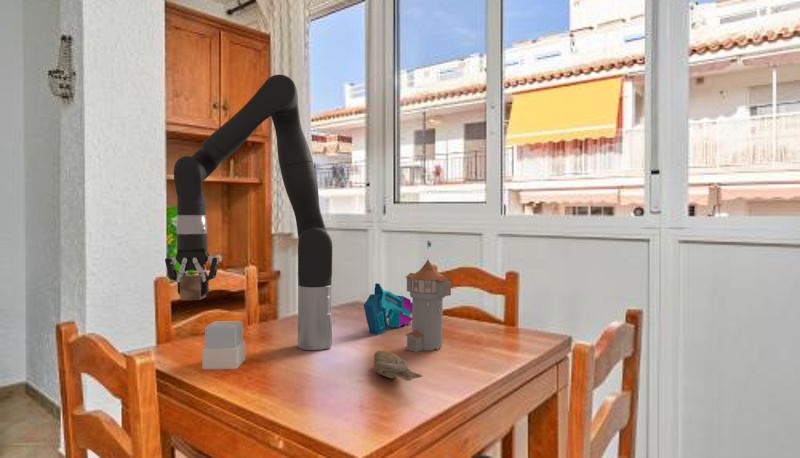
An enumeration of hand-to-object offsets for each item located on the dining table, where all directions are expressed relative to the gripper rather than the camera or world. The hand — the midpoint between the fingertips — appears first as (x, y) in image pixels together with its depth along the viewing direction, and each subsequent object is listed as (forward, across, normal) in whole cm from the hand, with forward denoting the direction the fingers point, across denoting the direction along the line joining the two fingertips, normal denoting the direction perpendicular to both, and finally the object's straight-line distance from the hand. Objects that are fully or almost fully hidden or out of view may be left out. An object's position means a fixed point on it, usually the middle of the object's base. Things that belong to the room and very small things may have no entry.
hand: (193, 295), depth 133 cm
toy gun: (+16, -54, -26) cm, 62 cm away
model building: (+16, -63, -3) cm, 65 cm away
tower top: (+10, -12, +12) cm, 19 cm away
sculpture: (+16, -52, +25) cm, 60 cm away
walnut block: (+1, 0, 0) cm, 1 cm away
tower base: (+15, -12, +12) cm, 23 cm away
